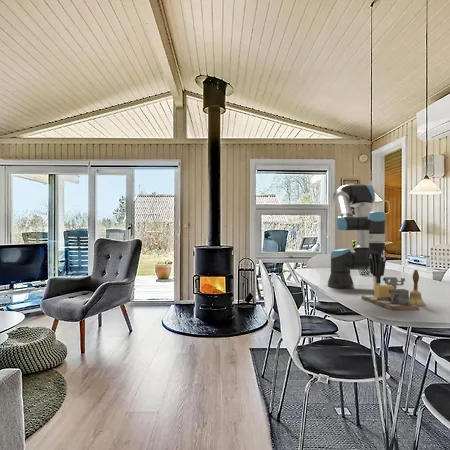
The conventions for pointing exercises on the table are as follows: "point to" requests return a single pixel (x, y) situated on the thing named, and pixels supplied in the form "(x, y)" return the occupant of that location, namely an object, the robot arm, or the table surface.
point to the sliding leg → (382, 291)
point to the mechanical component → (393, 281)
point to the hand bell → (416, 291)
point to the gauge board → (393, 300)
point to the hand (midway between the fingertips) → (377, 289)
